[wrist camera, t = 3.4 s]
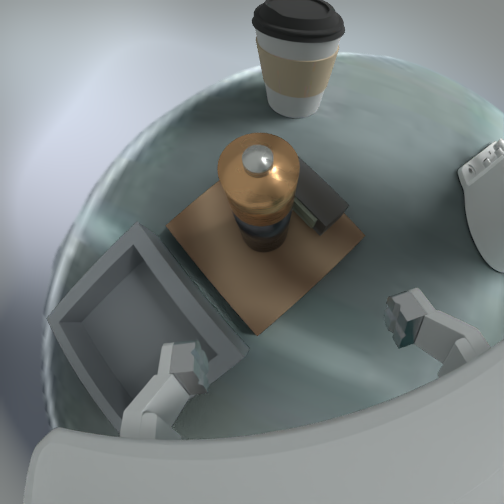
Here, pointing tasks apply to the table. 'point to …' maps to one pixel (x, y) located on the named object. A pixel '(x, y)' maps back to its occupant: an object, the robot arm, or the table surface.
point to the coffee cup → (297, 52)
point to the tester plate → (267, 263)
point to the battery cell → (260, 187)
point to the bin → (137, 321)
